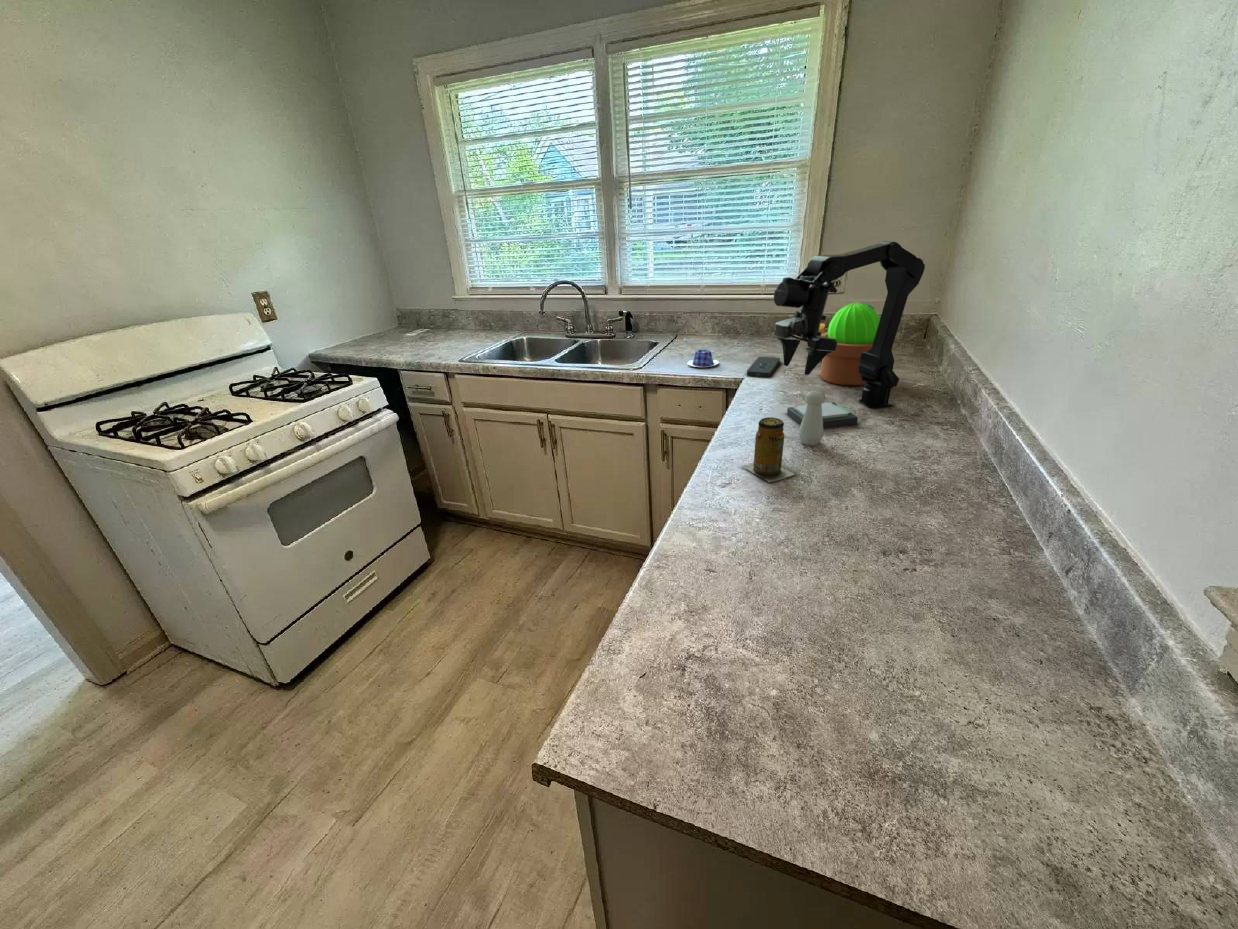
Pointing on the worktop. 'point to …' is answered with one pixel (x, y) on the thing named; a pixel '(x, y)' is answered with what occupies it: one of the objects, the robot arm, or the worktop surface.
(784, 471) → the condiment
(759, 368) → the smart home device
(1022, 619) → the worktop surface
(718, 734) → the worktop surface
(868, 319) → the potted cactus
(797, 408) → the kitchen scale
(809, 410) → the salt shaker
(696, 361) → the pudding
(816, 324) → the robot arm
